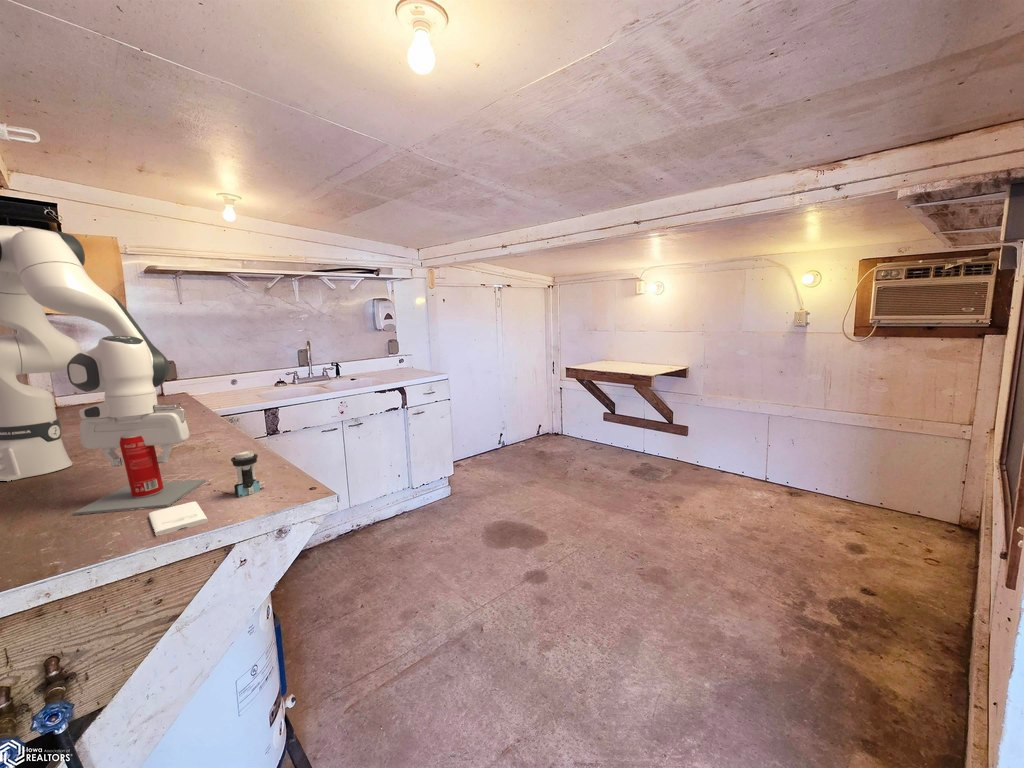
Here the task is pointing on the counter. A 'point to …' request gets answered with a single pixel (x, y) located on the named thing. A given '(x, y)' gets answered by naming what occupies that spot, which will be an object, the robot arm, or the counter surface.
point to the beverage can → (141, 467)
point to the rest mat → (126, 501)
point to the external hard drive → (177, 518)
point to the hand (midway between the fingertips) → (141, 464)
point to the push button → (246, 473)
